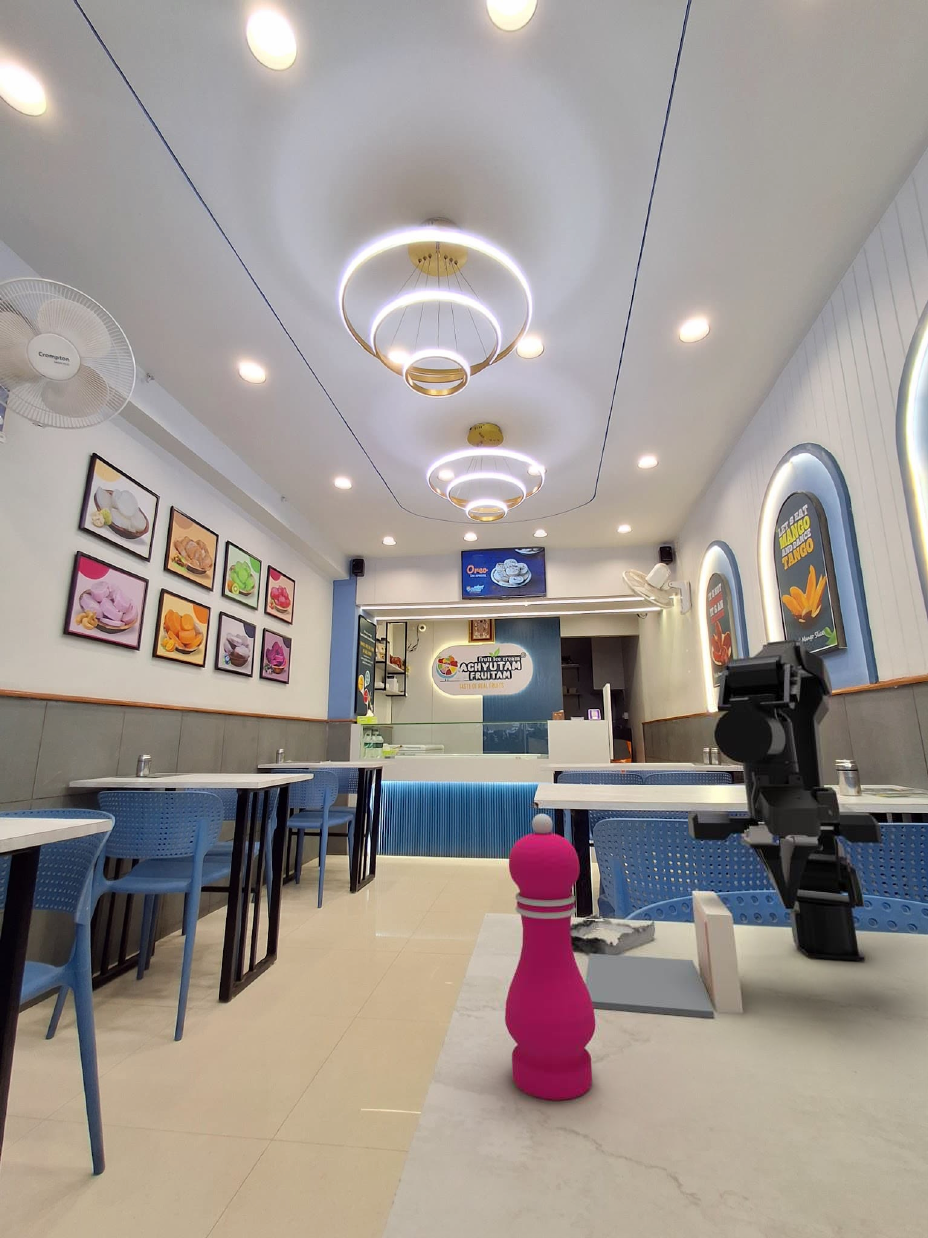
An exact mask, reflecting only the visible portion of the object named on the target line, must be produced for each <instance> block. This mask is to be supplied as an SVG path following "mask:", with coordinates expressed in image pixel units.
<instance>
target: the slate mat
mask: <svg viewBox="0 0 928 1238" xmlns="http://www.w3.org/2000/svg"><path fill="white" fill-rule="evenodd" d="M586 970H587V971H586V977H585V984H586V987H587V989H588V991H589V994H590V997H591V1000H592V1003H593V1008H594V1009H601V1010H609V1011H610V1010H613V1011H622V1012H623V1011H625V1012H636V1013H647V1014H648V1013H649V1014H657V1015H658V1014H659V1015H660V1014H661V1015H671V1016H682V1017H683V1016H684V1017H695V1018H704V1019H705V1018H706V1019H715V1015H714V1014H715V1013H714V1009H713V1007H712V1005H711V1002H710V999H709V998H708V995H707V992H706V990H705V988H704V984H703V982H702V979H701V977H700V975H699V972H698V970H697V967H696V965H695V962H694V960H692V959H684V958H683V959H681V958H666V957H665V958H664V957H650V956H649V957H648V956H635V955H634V956H633V955H621V954H618V955H606V954H590V953H589V954H588V963H587V969H586Z"/></svg>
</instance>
